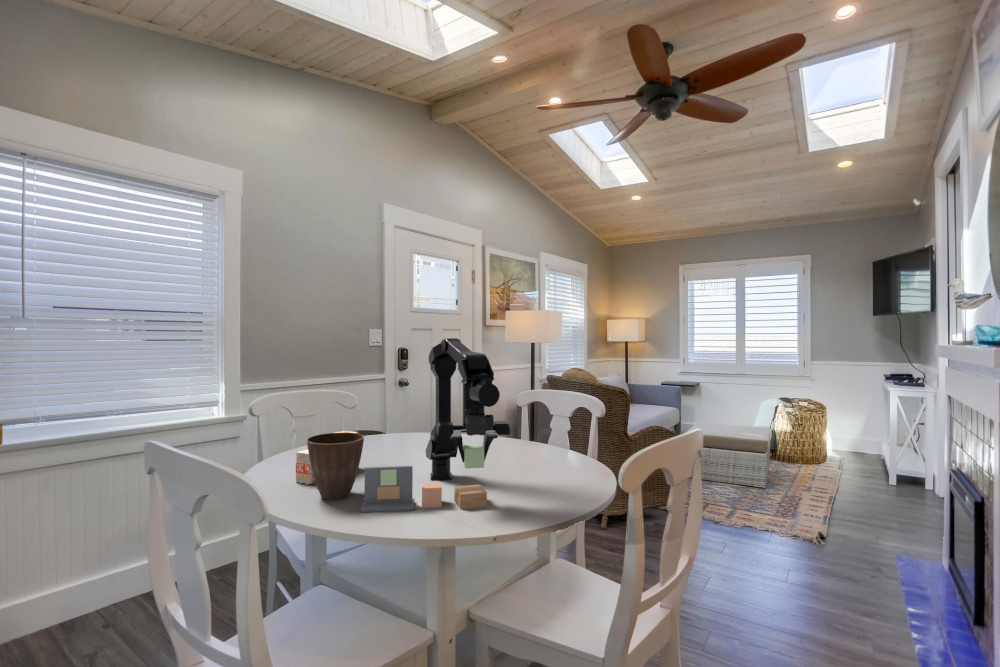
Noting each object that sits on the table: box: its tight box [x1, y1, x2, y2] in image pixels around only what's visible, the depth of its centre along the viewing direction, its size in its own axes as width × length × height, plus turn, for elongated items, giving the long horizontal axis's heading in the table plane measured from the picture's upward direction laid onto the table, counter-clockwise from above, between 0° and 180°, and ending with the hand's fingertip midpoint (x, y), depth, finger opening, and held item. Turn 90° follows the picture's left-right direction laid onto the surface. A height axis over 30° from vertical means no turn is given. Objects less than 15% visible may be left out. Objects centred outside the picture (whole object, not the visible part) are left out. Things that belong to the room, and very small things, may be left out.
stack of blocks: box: [295, 430, 359, 485], centre depth 160 cm, size 21×6×12 cm, turn 157°
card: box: [360, 465, 416, 513], centre depth 130 cm, size 6×13×10 cm, turn 98°
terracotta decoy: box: [421, 481, 443, 509], centre depth 132 cm, size 5×5×5 cm
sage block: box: [462, 443, 485, 469], centre depth 133 cm, size 5×5×5 cm
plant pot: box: [306, 432, 365, 501], centre depth 139 cm, size 15×15×16 cm
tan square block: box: [453, 484, 488, 510], centre depth 133 cm, size 7×7×4 cm
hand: (473, 461), depth 133 cm, fingers closed on sage block, 5 cm apart
